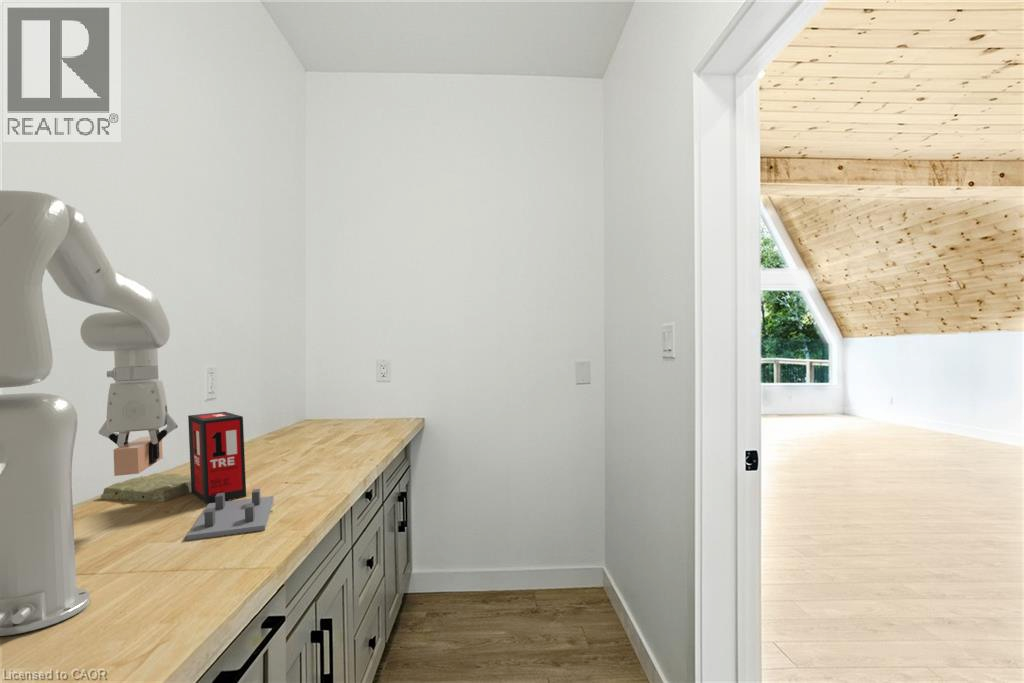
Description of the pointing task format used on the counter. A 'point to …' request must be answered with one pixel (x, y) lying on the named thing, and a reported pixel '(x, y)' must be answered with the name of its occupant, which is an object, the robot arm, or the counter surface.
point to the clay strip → (133, 457)
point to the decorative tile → (150, 488)
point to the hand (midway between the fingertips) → (140, 463)
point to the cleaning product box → (217, 456)
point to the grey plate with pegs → (232, 516)
